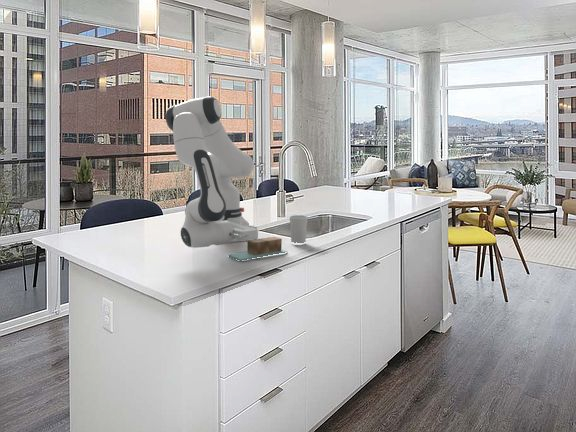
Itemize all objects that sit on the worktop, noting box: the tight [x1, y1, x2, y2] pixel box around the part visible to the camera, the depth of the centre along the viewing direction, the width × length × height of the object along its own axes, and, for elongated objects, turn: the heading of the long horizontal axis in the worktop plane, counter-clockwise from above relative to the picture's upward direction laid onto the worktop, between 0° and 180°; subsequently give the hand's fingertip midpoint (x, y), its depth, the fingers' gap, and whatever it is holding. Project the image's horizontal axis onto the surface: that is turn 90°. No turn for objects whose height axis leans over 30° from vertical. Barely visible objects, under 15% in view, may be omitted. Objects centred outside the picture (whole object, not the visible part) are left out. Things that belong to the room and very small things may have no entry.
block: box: [246, 236, 283, 255], centre depth 202 cm, size 5×5×13 cm
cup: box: [289, 214, 309, 243], centre depth 221 cm, size 8×8×12 cm
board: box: [227, 248, 288, 262], centre depth 201 cm, size 22×9×1 cm, turn 126°
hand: (254, 228), depth 198 cm, fingers closed
